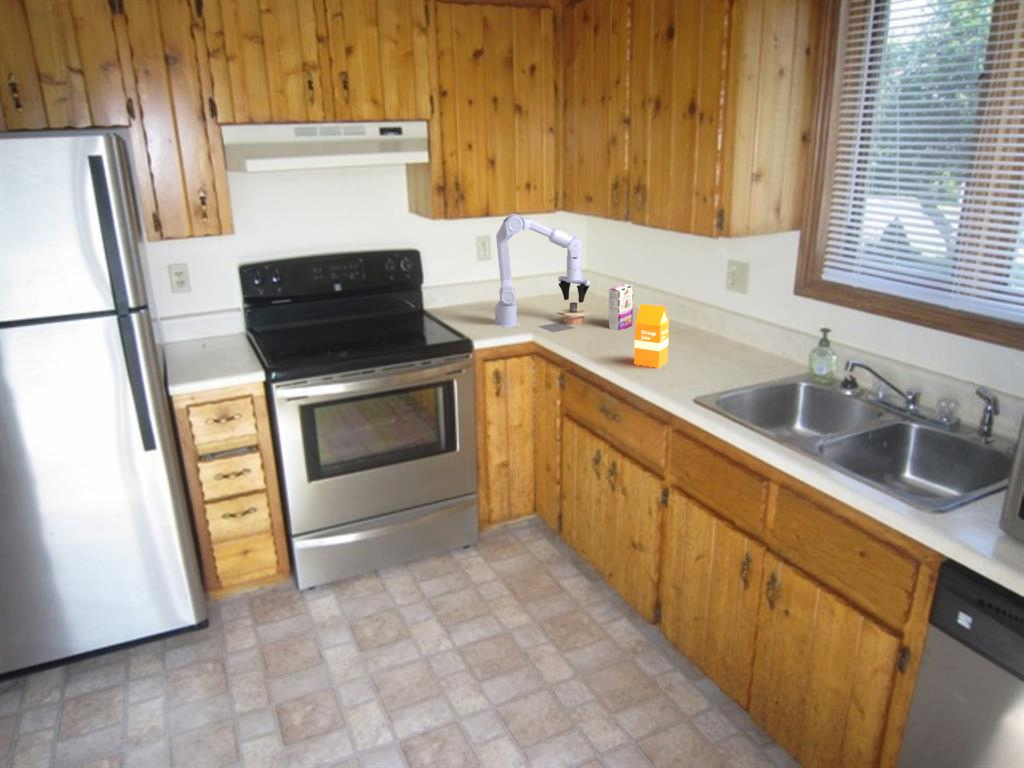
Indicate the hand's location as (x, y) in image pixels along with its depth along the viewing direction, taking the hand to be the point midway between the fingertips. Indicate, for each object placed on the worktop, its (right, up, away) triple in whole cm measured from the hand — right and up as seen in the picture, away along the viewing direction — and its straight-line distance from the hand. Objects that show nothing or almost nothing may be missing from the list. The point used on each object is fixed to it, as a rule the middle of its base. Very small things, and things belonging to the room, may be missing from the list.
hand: (573, 301), depth 299 cm
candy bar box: (+18, -11, -6) cm, 22 cm away
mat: (-7, -11, -5) cm, 14 cm away
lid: (0, -5, +1) cm, 5 cm away
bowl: (0, -9, +3) cm, 9 cm away
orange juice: (+22, -27, -51) cm, 62 cm away
